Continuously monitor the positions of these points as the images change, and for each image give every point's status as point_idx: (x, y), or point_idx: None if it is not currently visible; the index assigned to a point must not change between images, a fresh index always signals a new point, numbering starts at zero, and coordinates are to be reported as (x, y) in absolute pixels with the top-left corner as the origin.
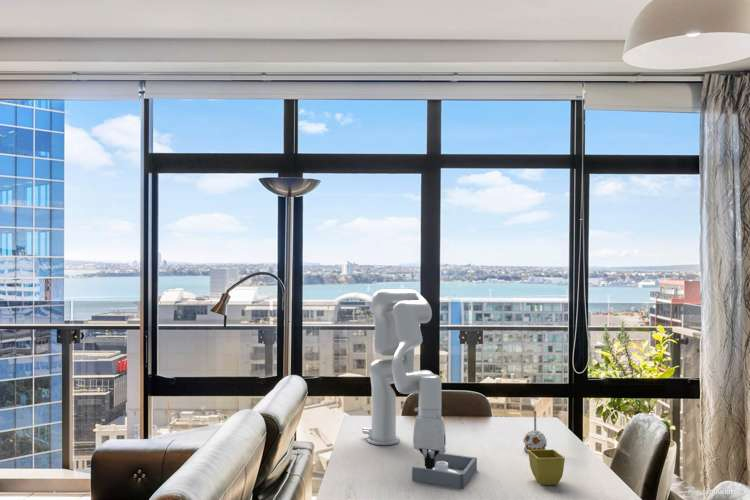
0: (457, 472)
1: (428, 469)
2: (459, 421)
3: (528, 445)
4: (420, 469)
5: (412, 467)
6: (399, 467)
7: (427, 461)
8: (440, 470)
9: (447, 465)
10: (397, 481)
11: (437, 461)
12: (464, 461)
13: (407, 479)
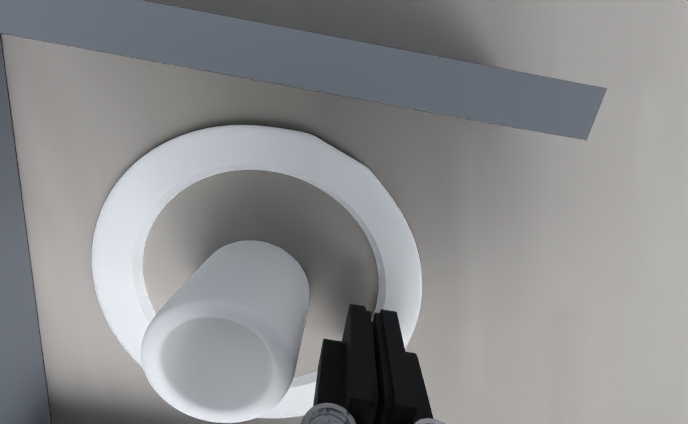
0: (134, 356)
1: (335, 59)
2: None
3: None
4: (464, 62)
5: (601, 89)
6: (622, 375)
7: (389, 373)
8: (233, 268)
9: (145, 335)
10: (675, 19)
11: (273, 401)
12: None
13: None
